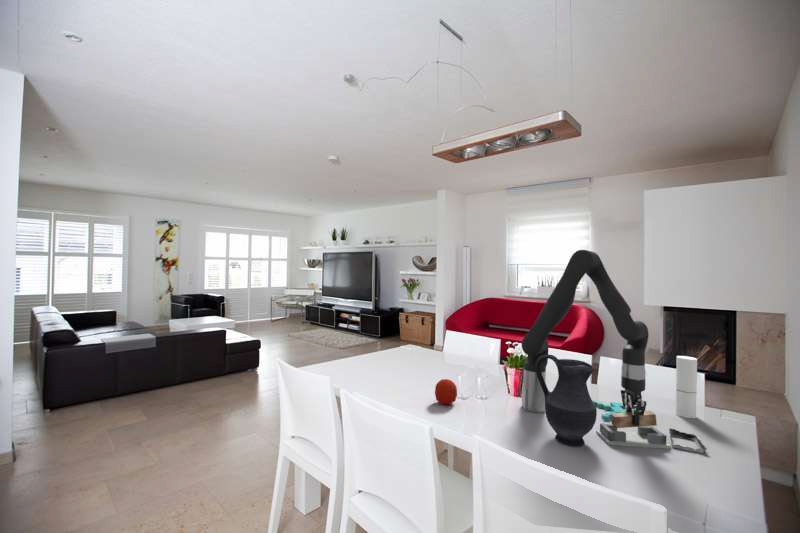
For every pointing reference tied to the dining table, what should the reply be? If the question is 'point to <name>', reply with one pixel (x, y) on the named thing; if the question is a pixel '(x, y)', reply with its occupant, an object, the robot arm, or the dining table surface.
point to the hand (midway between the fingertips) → (632, 422)
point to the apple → (445, 392)
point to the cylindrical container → (686, 386)
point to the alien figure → (614, 408)
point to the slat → (626, 419)
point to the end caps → (649, 431)
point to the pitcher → (569, 400)
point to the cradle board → (634, 441)
